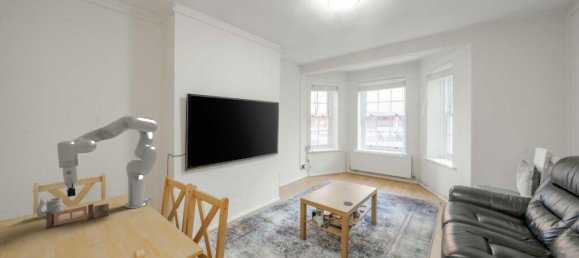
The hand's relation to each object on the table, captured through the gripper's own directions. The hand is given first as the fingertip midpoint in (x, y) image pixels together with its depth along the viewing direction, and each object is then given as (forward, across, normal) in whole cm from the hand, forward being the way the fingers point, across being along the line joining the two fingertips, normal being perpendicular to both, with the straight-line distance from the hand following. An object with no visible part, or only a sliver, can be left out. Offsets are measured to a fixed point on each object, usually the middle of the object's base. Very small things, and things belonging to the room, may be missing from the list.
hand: (71, 195), depth 125 cm
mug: (+17, +23, +11) cm, 31 cm away
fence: (+17, +5, -2) cm, 18 cm away
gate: (+17, +5, +1) cm, 17 cm away
